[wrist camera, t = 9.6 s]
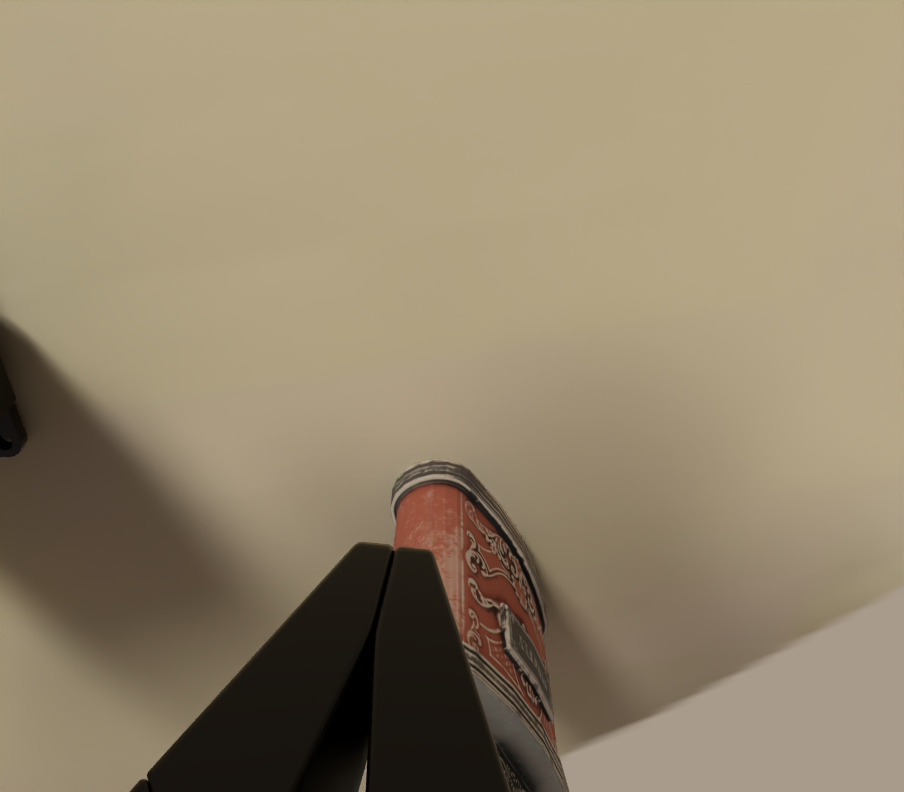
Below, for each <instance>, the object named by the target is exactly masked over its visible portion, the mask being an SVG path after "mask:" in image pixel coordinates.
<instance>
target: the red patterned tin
mask: <svg viewBox="0 0 904 792" xmlns="http://www.w3.org/2000/svg"><path fill="white" fill-rule="evenodd" d="M391 515H392V519H393V522H394V525H395V527H396V529H395V541H394V551H395V550H396V548H398V547H400V546H405V547H413V548H422V549H429V550H430V551H432V553H433V554H434V556H435V559H436V562H437V565H438V568H439V571H440V575H441V578H442V581H443V584H444V587H445V590H446V593H447V596H448V599H449V602H450V606H451V609H452V612H453V615H454V618H455V621H456V624H457V627H458V630H459V633H460V636H461V640H462V643H463V646H464V649H465V652H466V655H467V658H468V661H469V664H470V667H471V671H472V674H473V677H474V680H475V683H476V686H477V689H478V692H479V695H480V698H481V701H482V705H483V708H484V711H485V714H486V717H487V720H488V723H489V726H490V729H491V732H492V735H493V739H494V742H495V745H496V748H497V751H498V754H499V757H500V760H501V763H502V766H503V770H504V773H505V776H506V779H507V782H508V785H509V788H510V791H511V792H569V789H568V785H567V782H566V778H565V775H564V771H563V768H562V764H561V761H560V758H559V756H558V754H557V746H556V738H555V730H554V722H553V717H554V714H553V706H552V698H551V690H550V682H549V674H548V672H547V665H546V657H545V649H544V641H543V638H544V636H545V634H546V633H547V617H546V609H545V603H544V599H543V595H542V591H541V587H540V583H539V579H538V576H537V572H536V569H535V567H534V565H533V563H532V560H531V558H530V556H529V553H528V551H527V549H526V547H525V544H524V542H523V540H522V537H521V536H520V534H519V533H518V531H517V530H516V528H515V527H514V525H513V524H512V522H511V521H510V519H509V518H508V516H507V515H506V513H505V512H504V510H503V509H502V507H501V506H500V504H499V503H498V502H497V500H496V499H495V498H494V497H493V496H492V495H491V494H490V493H489V491H488V490H487V489H486V488H485V487H484V486H483V485H482V483H481V482H480V481H479V480H478V479H477V478H476V477H475V475H474V474H473V473H472V472H471V471H470V470H469V469H467V468H466V467H465V466H463V465H462V464H460V463H457V462H454V461H451V460H445V459H431V460H427V461H423V462H418V463H416V464H415V465H413V466H411V467H409V468H407V469H405V470H404V471H403V472H402V474H401V475H400V476H399V477H398V478H397V479H396V482H395V484H394V486H393V490H392V500H391Z"/></svg>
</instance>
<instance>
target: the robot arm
mask: <svg viewBox="0 0 904 792" xmlns="http://www.w3.org/2000/svg"><path fill="white" fill-rule="evenodd" d="M15 399H16V398H15V395H14V392H13V389H12V387H11V384H10V381H9V379H8V376H7V373H6V371H5V368H4V365H3V363H2V360H1V357H0V457H12V456H15V455H17V454H18V453H19V452H20V451H21V450H22V448H23V447H24V446H25V445H26V442H27V434H26V431H25V428H24V426H23V423H22V420H21V418H20V415H19V412H18V410H17V407H16V405H15ZM2 436H5V437H7V438H9V439H10V440H11V442H9V441H6V440H5V439H3V438H2ZM366 761H367V777H366V792H511V791H510V788H509V785H508V782H507V779H506V776H505V773H504V770H503V766H502V763H501V760H500V757H499V754H498V751H497V748H496V745H495V742H494V739H493V735H492V732H491V729H490V726H489V723H488V720H487V717H486V714H485V711H484V708H483V705H482V701H481V698H480V695H479V692H478V689H477V686H476V683H475V680H474V677H473V674H472V671H471V667H470V664H469V661H468V658H467V655H466V652H465V649H464V646H463V643H462V640H461V636H460V633H459V630H458V627H457V624H456V621H455V618H454V615H453V612H452V609H451V606H450V602H449V599H448V596H447V593H446V590H445V587H444V584H443V581H442V578H441V575H440V571H439V568H438V565H437V562H436V559H435V556H434V554H433V553H432V551H430V550H429V549H422V548H413V547H405V546H400V547H398V548H396V550H395V551H394V549H393V547H392V546H390V545H387V544H378V543H368V542H359V543H357V544H355V545H354V546H353V547H352V548H351V549H350V551H349V552H348V553H347V554H346V555H345V556H344V557H343V558H342V559H341V560H340V562H339V563H338V564H337V565H336V566H335V567H334V568H333V569H332V570H331V571H330V573H329V574H328V575H327V576H326V577H325V578H324V579H323V580H322V581H321V582H320V584H319V585H318V586H317V587H316V588H315V589H314V590H313V591H312V592H311V593H310V595H309V596H308V597H307V598H306V599H305V600H304V601H303V602H302V603H301V604H300V606H299V607H298V608H297V609H296V610H295V611H294V612H293V613H292V614H291V615H290V617H289V618H288V619H287V620H286V621H285V622H284V623H283V624H282V625H281V626H280V628H279V629H278V630H277V631H276V632H275V633H274V634H273V635H272V636H271V637H270V639H269V640H268V641H267V642H266V643H265V644H264V645H263V646H262V647H261V648H260V650H259V651H258V652H257V653H256V654H255V655H254V656H253V657H252V658H251V659H250V661H249V662H248V663H247V664H246V665H245V666H244V667H243V668H242V669H241V670H240V672H239V673H238V674H237V675H236V676H235V677H234V678H233V679H232V680H231V681H230V683H229V684H228V685H227V686H226V687H225V688H224V689H223V690H222V691H221V692H220V694H219V695H218V696H217V697H216V698H215V699H214V700H213V701H212V702H211V703H210V704H209V706H208V707H207V708H206V709H205V710H204V711H203V712H202V713H201V714H200V715H199V717H198V718H197V719H196V720H195V721H194V722H193V723H192V724H191V725H190V726H189V728H188V729H187V730H186V731H185V732H184V733H183V734H182V735H181V736H180V737H179V739H178V740H177V741H176V742H175V743H174V744H173V745H172V746H171V747H170V748H169V750H168V751H167V752H166V753H165V754H164V755H163V756H162V757H161V758H160V759H159V761H158V762H157V763H156V764H155V765H154V766H153V767H152V768H151V769H150V770H149V772H148V774H147V778H148V781H147V780H145V779H142V780H140V781H139V782H138V783H137V784H136V785H135V786H134V788H133V789H132V790H131V791H130V792H358V790H359V787H360V783H361V780H362V776H363V773H364V769H365V765H366Z"/></svg>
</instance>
